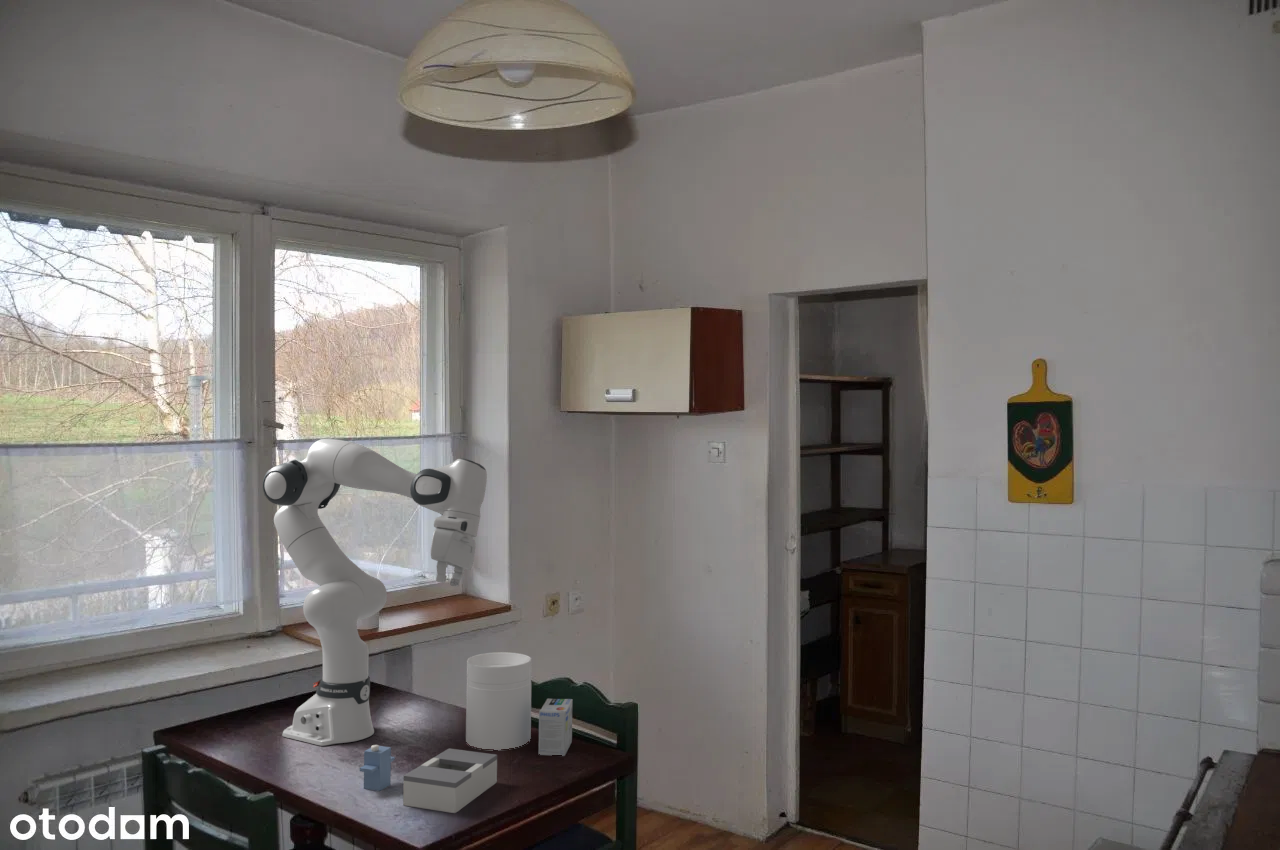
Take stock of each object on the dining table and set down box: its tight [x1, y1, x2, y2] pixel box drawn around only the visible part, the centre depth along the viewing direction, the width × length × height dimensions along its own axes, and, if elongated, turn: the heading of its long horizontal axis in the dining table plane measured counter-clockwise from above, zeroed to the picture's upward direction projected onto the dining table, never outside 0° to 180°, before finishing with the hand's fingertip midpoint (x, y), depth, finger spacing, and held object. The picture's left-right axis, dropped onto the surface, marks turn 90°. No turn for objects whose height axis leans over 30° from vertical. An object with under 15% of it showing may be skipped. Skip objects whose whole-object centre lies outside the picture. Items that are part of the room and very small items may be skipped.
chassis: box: [402, 748, 498, 814], centre depth 197 cm, size 12×18×6 cm, turn 161°
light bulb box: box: [538, 698, 573, 757], centre depth 227 cm, size 11×7×11 cm, turn 175°
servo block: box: [359, 744, 396, 792], centre depth 201 cm, size 4×8×9 cm, turn 161°
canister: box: [465, 651, 533, 751], centre depth 233 cm, size 16×16×20 cm
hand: (447, 584), depth 219 cm, fingers open, 8 cm apart
